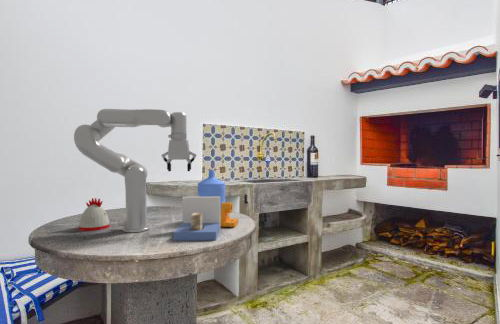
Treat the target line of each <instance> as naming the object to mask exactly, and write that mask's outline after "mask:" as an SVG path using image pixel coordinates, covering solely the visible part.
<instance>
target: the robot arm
mask: <svg viewBox="0 0 500 324" xmlns="http://www.w3.org/2000/svg"><path fill="white" fill-rule="evenodd" d="M140 126H158V127H160V128H170V131H171V133H170V134H168V135H167V136H168V138H169V141H168V146H167V147H168V148H167V151H166V152H164V153H162V154H161V157H162V159H163V161H164V162H165V163H166V169H167V172H172V163H171V162H172V161H174V160H175V161H177V160H182V161H183V160H185V161H186V162H187V171H186V172H190V171H191V170H192V163H193V162H194V161H195V159H196V157H197V154H196V153H194V152H192V151H190V144H189V140H188V139H187V136H188V135H187V114H186V112H181V111H179V112H178V111H175V112H172V113H170V112H168V111H167V110H165V109H151V108H150V109H145V108H144V109H140V108H139V109H137V108H136V109H135V108H134V109H125V108H123V109H119V108H102V109H100V110H99V111H98V112H97V115H96V120H95V121H93V122H92V123H91V124H81V125H79V126H77V127H76V129H75V130H74V133H73V141H74V144H75V147H76V148H77V150H78V151H79V152H80V153H81V154H82V155H83V156H85V158H87V159H90V160H91V161H93V162H95V163H96V164H97V165H99V166H101V167H103V168H105V169H106V170H108V171H109V172H112V173H115V174H118V175H120V176H121V177H124V188H125V189H124V190H125V220H124V221H122V220H120V221H117V225H118V226H119V227H122V232H125V233H141V232H146V231H149V230H150V229H151V226H150V224H148V222H147V219H148V218H147V177H148V171H147V168H146V167H145V166H144V165H142V164H140V163H139V162H137V161H135V160H133V159H131V157H128V156H126V154H125V155H124V154H123V153H118V152H115V151H114V150H112V149H110V148H108V147H107V146H104V144H102V143H99V142H100V141H101V140H102V139H103V138H104V137H106V136H107V135H108V134H109V133H110V132H112V131H113V129H115V128H137V127H140ZM190 155H191V156H192V157H191V156H190ZM166 156H167V157H166ZM190 157H191V159H190Z"/></svg>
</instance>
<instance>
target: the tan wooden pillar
mask: <svg viewBox="0 0 500 324" xmlns="http://www.w3.org/2000/svg"><path fill="white" fill-rule="evenodd" d="M191 230H203V220H202V213H193V214H192V215H191Z"/></svg>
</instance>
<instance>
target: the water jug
mask: <svg viewBox="0 0 500 324" xmlns="http://www.w3.org/2000/svg"><path fill="white" fill-rule="evenodd" d="M196 188H197V197H220V214H221V205H222V202H226V182H224V181H222V180H220V179H219V178H216V177H215V170H214V169H209V170H208V177H207V178H205V179H203V180H201V181H199V182H198V183H197V187H196Z"/></svg>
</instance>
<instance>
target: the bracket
mask: <svg viewBox="0 0 500 324" xmlns="http://www.w3.org/2000/svg"><path fill="white" fill-rule="evenodd" d="M233 209H234V206H233V202H230V201H229V202H226V201H225V202H222V205H221V214H220V228H221V227H222V228H236V226H238V224H239V218H233V217H232V218H231V217H230V214H232V213H233Z"/></svg>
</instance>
